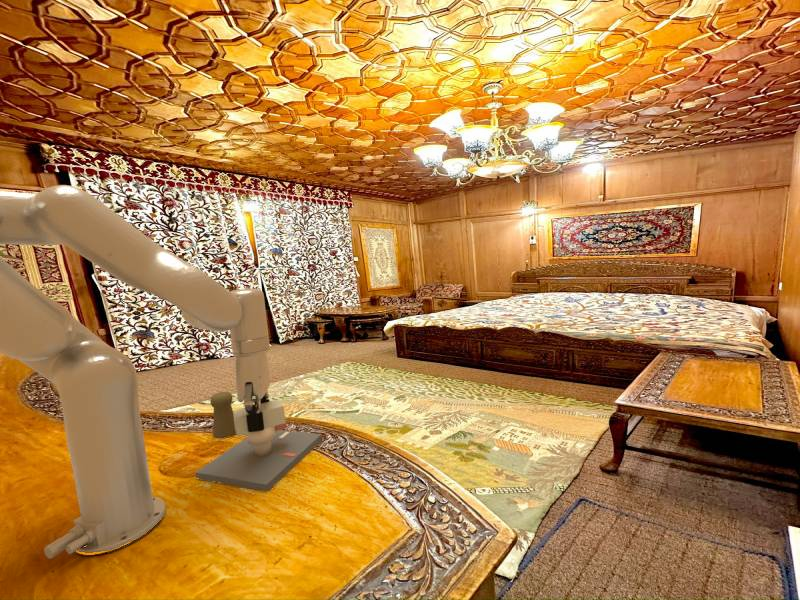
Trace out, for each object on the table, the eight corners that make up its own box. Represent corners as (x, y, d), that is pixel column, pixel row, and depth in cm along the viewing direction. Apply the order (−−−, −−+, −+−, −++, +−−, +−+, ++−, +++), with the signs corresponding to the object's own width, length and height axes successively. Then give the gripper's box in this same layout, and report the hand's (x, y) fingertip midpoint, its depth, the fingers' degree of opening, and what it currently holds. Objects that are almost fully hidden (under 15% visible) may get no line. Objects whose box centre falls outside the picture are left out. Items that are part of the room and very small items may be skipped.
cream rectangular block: (239, 450, 75) (235, 419, 74) (236, 439, 80) (232, 409, 79) (289, 435, 80) (286, 406, 79) (283, 425, 85) (280, 397, 85)
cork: (219, 441, 90) (214, 399, 89) (208, 435, 94) (203, 395, 92) (242, 431, 95) (237, 391, 94) (231, 425, 98) (226, 387, 97)
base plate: (267, 491, 68) (264, 469, 68) (196, 479, 74) (193, 458, 74) (322, 440, 87) (320, 422, 87) (261, 433, 93) (259, 416, 92)
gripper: (243, 338, 86) (252, 410, 88) (219, 357, 69) (230, 445, 71) (276, 335, 87) (283, 406, 89) (259, 353, 70) (269, 440, 72)
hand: (260, 422), depth 80 cm, fingers closed on cream rectangular block, 6 cm apart
